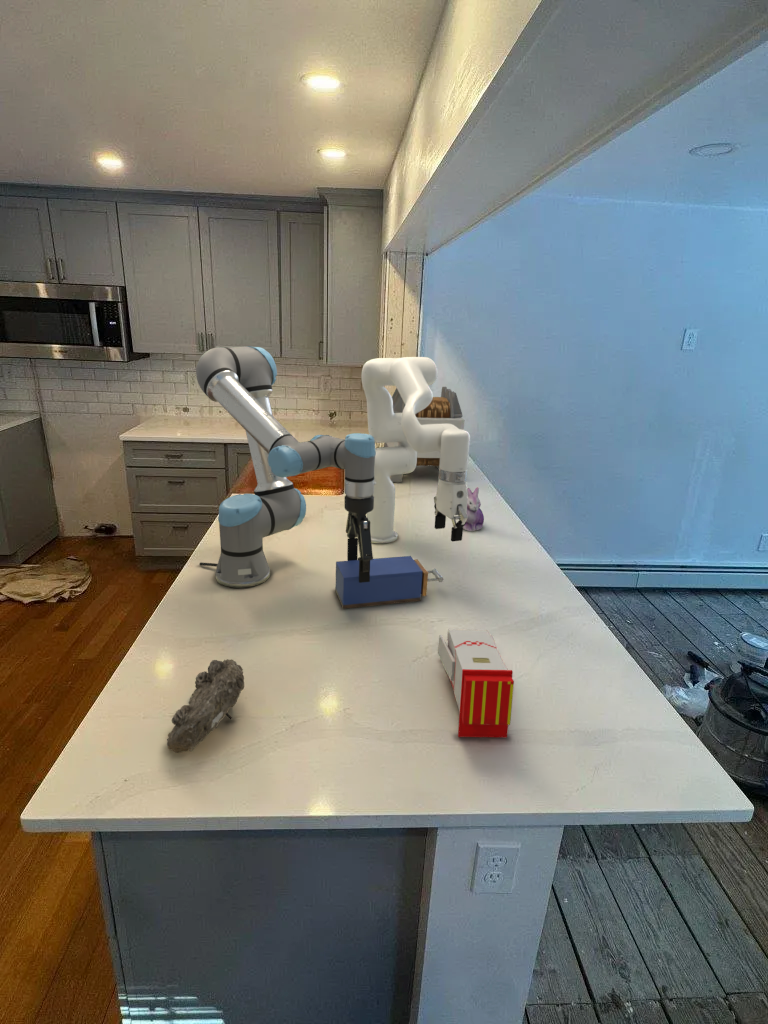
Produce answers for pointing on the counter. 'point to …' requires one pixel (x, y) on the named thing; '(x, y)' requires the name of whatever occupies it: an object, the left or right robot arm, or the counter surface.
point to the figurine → (473, 511)
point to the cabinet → (379, 582)
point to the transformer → (431, 422)
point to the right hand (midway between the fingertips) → (447, 534)
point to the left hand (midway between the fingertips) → (358, 570)
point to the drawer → (425, 577)
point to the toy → (478, 682)
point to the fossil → (206, 705)
